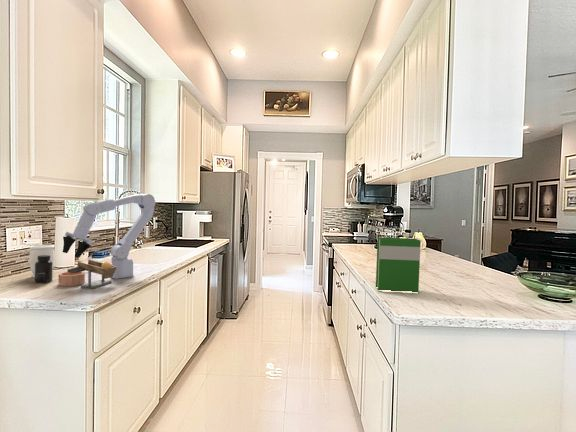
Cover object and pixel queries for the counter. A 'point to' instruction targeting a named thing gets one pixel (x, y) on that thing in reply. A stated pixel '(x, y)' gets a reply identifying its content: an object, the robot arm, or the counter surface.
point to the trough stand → (94, 284)
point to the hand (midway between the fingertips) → (70, 254)
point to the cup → (71, 278)
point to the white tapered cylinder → (40, 250)
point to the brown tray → (94, 268)
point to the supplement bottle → (43, 269)
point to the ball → (106, 265)
